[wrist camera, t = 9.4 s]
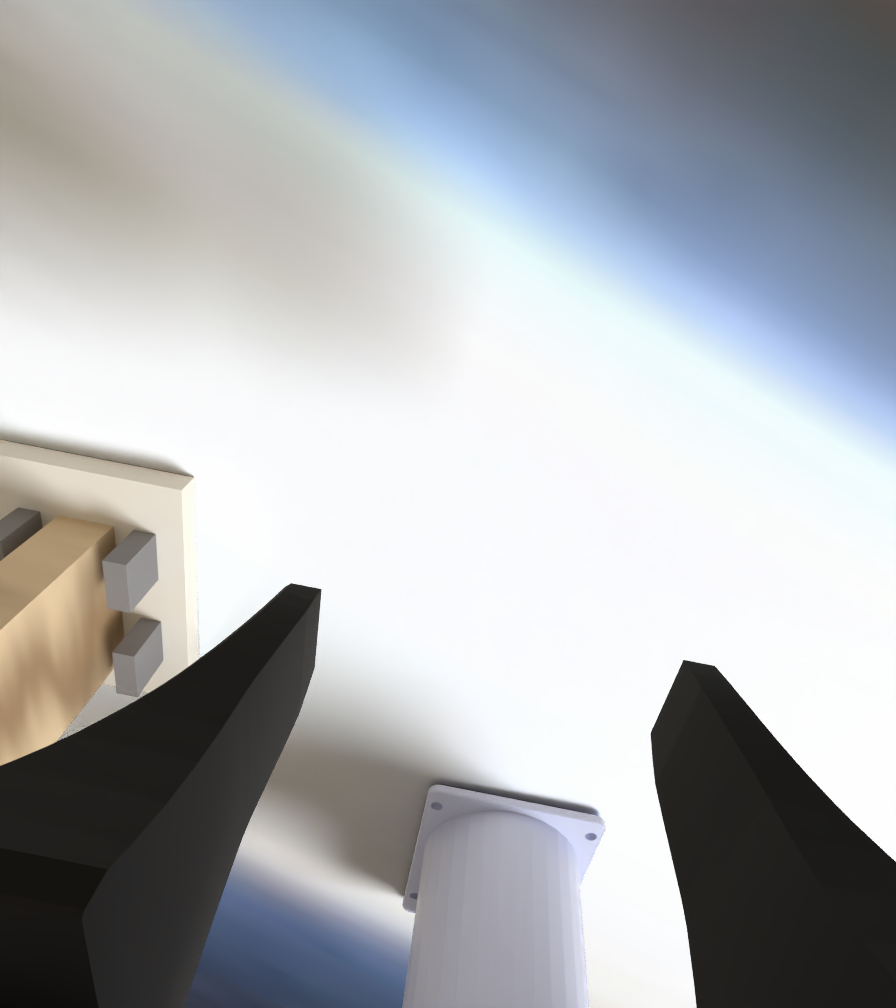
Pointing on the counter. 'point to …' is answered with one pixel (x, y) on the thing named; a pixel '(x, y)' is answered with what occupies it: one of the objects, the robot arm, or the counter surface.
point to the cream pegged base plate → (118, 549)
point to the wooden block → (53, 632)
